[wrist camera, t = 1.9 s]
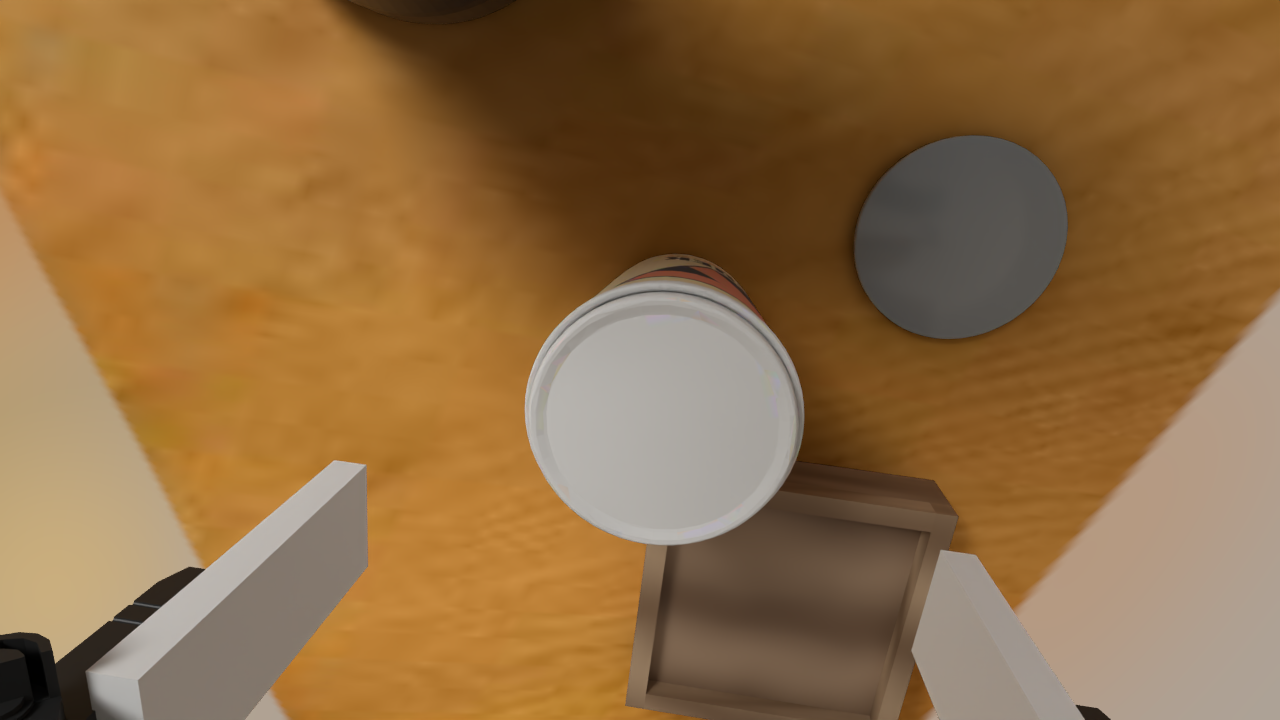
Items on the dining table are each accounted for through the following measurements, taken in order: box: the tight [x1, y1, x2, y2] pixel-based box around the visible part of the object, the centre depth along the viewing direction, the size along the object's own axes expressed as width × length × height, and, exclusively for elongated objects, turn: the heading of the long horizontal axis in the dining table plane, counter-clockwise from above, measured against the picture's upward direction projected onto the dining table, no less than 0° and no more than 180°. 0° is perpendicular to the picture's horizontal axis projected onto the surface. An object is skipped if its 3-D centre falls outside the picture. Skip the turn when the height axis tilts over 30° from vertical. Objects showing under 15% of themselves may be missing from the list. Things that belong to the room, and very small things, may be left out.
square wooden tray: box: [625, 461, 958, 720], centre depth 35 cm, size 14×14×4 cm
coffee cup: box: [525, 254, 804, 545], centre depth 28 cm, size 9×9×12 cm
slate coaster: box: [853, 135, 1068, 339], centre depth 30 cm, size 9×9×1 cm
